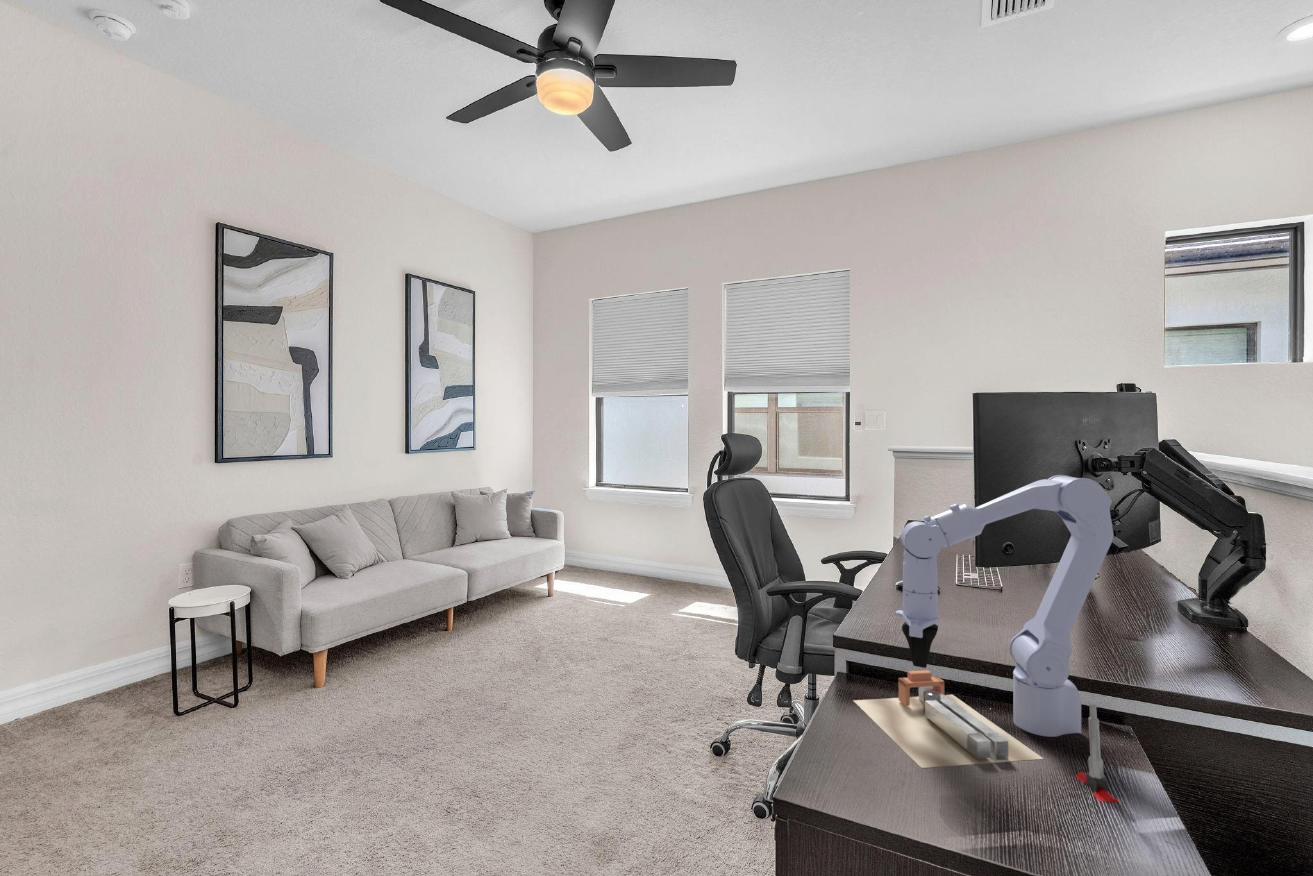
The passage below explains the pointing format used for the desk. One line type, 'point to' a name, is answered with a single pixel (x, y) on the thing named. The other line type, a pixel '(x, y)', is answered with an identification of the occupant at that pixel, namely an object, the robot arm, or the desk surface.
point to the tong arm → (958, 730)
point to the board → (933, 734)
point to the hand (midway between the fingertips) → (920, 665)
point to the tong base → (968, 721)
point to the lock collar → (918, 684)
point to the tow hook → (1095, 761)
